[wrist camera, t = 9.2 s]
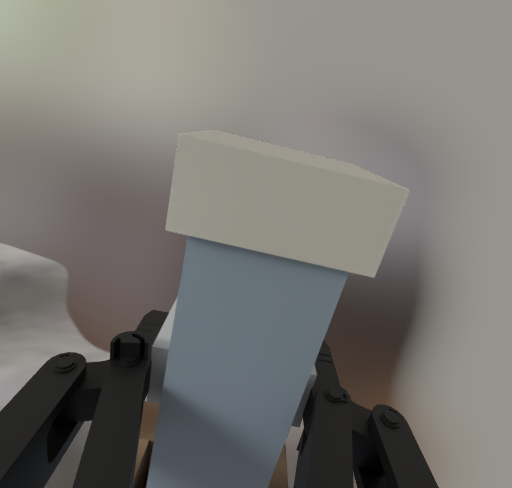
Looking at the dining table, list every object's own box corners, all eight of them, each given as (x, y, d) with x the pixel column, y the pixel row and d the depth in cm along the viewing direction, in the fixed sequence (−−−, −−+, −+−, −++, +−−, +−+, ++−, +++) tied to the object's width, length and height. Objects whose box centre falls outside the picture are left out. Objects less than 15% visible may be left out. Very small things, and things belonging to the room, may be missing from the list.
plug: (235, 614, 15) (410, 189, 8) (115, 595, 14) (178, 133, 7) (243, 485, 20) (350, 163, 13) (155, 469, 20) (215, 129, 12)
